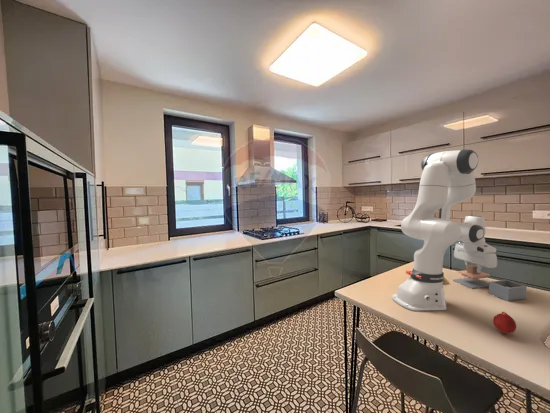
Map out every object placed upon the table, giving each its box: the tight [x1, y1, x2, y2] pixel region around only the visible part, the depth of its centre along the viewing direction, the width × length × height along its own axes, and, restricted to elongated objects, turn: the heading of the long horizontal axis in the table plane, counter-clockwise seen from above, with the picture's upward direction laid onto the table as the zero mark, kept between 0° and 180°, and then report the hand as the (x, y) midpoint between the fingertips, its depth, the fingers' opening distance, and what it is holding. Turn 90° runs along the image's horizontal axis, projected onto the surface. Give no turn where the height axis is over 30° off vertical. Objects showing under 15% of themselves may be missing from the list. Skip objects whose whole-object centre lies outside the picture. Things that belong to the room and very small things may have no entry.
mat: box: [452, 277, 489, 290], centre depth 124 cm, size 14×11×1 cm
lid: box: [457, 263, 491, 280], centre depth 124 cm, size 10×8×6 cm
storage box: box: [488, 279, 528, 302], centre depth 108 cm, size 10×8×6 cm
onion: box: [492, 311, 517, 335], centre depth 82 cm, size 6×6×8 cm
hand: (473, 270), depth 124 cm, fingers closed on lid, 3 cm apart
